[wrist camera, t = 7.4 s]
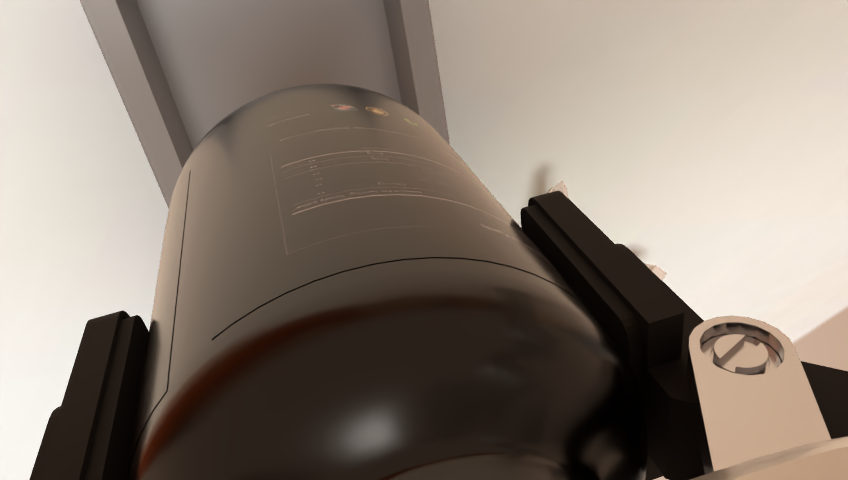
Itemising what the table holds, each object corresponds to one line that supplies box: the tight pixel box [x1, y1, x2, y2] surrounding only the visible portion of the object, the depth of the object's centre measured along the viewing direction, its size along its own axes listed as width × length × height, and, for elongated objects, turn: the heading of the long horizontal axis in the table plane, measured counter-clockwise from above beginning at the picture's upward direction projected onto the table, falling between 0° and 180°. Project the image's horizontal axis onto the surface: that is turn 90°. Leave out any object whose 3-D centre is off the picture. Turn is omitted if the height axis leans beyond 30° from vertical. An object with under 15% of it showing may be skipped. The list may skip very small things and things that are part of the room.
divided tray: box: [80, 0, 450, 208], centre depth 28 cm, size 11×21×4 cm, turn 9°
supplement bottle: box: [127, 84, 648, 480], centre depth 10 cm, size 7×7×12 cm
